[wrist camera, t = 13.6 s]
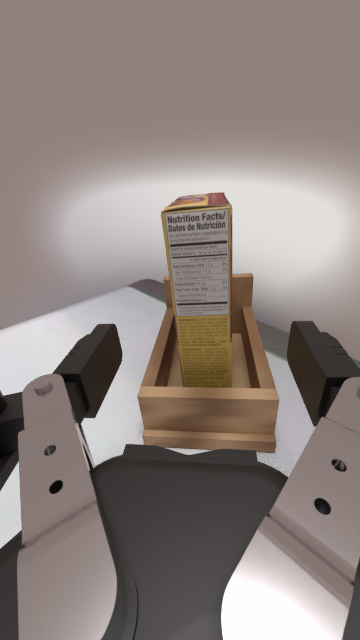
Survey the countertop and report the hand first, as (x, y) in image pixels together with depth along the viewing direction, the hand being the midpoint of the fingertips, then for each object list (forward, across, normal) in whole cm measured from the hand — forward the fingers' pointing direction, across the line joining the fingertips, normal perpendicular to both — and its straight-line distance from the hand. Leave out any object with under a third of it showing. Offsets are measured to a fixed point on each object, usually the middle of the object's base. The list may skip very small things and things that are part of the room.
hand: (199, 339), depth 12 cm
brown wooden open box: (+10, 0, +11) cm, 15 cm away
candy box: (+10, 0, +10) cm, 14 cm away
